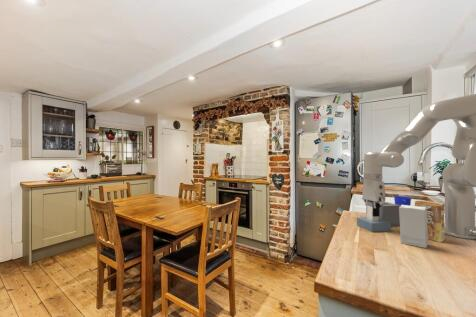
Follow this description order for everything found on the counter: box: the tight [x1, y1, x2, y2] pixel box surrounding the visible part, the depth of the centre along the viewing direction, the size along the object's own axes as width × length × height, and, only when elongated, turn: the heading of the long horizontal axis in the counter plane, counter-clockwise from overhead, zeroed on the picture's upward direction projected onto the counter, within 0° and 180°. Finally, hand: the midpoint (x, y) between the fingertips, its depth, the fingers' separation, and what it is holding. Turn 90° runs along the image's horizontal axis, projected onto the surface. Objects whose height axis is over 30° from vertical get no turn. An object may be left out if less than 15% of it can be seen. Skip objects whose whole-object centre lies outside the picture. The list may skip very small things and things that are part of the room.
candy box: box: [414, 199, 446, 243], centre depth 93 cm, size 9×4×15 cm, turn 33°
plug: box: [366, 201, 379, 221], centre depth 107 cm, size 3×3×10 cm
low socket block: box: [356, 216, 392, 233], centre depth 107 cm, size 10×10×4 cm
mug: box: [393, 195, 412, 206], centre depth 132 cm, size 8×12×10 cm
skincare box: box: [399, 205, 429, 249], centre depth 87 cm, size 8×6×15 cm
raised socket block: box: [379, 201, 400, 227], centre depth 116 cm, size 10×10×10 cm
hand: (372, 214), depth 107 cm, fingers closed on plug, 3 cm apart
